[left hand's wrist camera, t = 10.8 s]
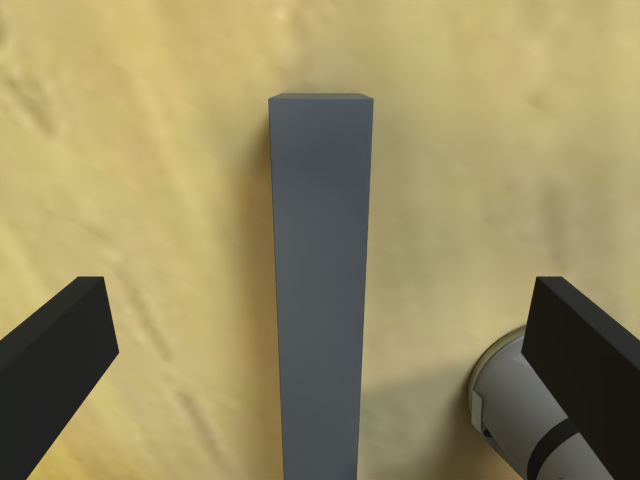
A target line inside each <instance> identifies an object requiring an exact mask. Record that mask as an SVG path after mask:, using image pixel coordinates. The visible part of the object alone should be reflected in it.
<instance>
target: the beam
mask: <svg viewBox="0 0 640 480" xmlns="http://www.w3.org/2000/svg"><path fill="white" fill-rule="evenodd" d="M268 101H269V125H270V150H271V174H272V199H273V223H274V248H275V272H276V297H277V321H278V346H279V370H280V395H281V419H282V444H283V469H284V480H357V459H358V437H359V415H360V392H361V370H362V347H363V325H364V303H365V280H366V258H367V235H368V213H369V191H370V168H371V146H372V124H373V101H374V99H373V98H370V97H368V96H365V95H362V94H279V95H277V96H274V97H271V98H269V99H268Z"/></svg>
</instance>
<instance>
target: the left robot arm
mask: <svg viewBox="0 0 640 480" xmlns="http://www.w3.org/2000/svg"><path fill="white" fill-rule="evenodd" d="M118 354H119V349H118V345H117V340H116V335H115V330H114V325H113V320H112V315H111V311H110V306H109V301H108V296H107V291H106V286H105V281H104V277H77V278H76V279H75V280H73V281H72V282H71V283H70V284H69V285H67V286H66V287H65V288H64V289H62V290H61V291H60V292H59V293H58V294H56V295H55V296H54V297H53V298H52V299H50V300H49V301H48V302H47V303H45V304H44V305H43V306H42V307H41V308H39V309H38V310H37V311H36V312H34V313H33V314H32V315H31V316H30V317H28V318H27V319H26V320H25V321H23V322H22V323H21V324H20V325H19V326H17V327H16V328H15V329H14V330H12V331H11V332H10V333H9V334H8V335H6V336H5V337H4V338H3V339H2V340H0V480H26V479H27V478H28V476H29V475H30V474H31V472H32V471H33V470H34V468H35V467H36V466H37V464H38V463H39V461H40V460H41V459H42V457H43V456H44V455H45V453H46V452H47V451H48V449H49V448H50V446H51V445H52V444H53V442H54V441H55V440H56V438H57V437H58V436H59V434H60V433H61V431H62V430H63V429H64V427H65V426H66V425H67V423H68V422H69V421H70V419H71V418H72V416H73V415H74V414H75V412H76V411H77V410H78V408H79V407H80V405H81V404H82V403H83V401H84V400H85V399H86V397H87V396H88V395H89V393H90V392H91V390H92V389H93V388H94V386H95V385H96V384H97V382H98V381H99V380H100V378H101V377H102V375H103V374H104V373H105V371H106V370H107V369H108V367H109V366H110V365H111V363H112V362H113V360H114V359H115V358H116V356H117V355H118ZM467 400H468V406H469V410H470V413H471V415H472V422H471V424H472V425H473V426H474V427H475V428H476V429H477V430H478V431H479V433H481V434H482V436H483V437H484V439H485V440H486V441H487V442H488V444H489V445H490V446H491V447H492V448H493V449H494V450H495V451H496V452H497V453H498V454H499V455H500V456H501V457H502V458H503V459H504V460H505V461H506V462H507V463H508V464H509V465H510V466H511V467H512V468H513V469H514V470H515V471H516V472H517V473H518V474H519V475H520V476H521V477H522V478H523V479H524V480H640V340H638V339H637V338H636V337H635V336H634V335H632V334H631V333H630V332H629V331H628V330H626V329H625V328H624V327H623V326H621V325H620V324H619V323H618V322H617V321H615V320H614V319H613V318H612V317H610V316H609V315H608V314H607V313H606V312H604V311H603V310H602V309H601V308H599V307H598V306H597V305H596V304H595V303H593V302H592V301H591V300H590V299H588V298H587V297H586V296H585V295H584V294H582V293H581V292H580V291H579V290H578V289H576V288H575V287H574V286H573V285H571V284H570V283H569V282H568V281H567V280H565V279H564V278H563V277H536V281H535V286H534V291H533V296H532V301H531V306H530V311H529V315H528V320H527V325H526V326H524V327H522V328H520V329H517V330H515V331H513V332H512V333H510V334H508V335H506V336H505V337H503V338H502V339H500V340H499V341H498V342H497V343H495V344H494V345H493V346H492V347H491V348H490V349H489V350H488V351H487V352H486V353H485V354H484V355H483V356H482V358H481V359H480V360H479V362H478V363H477V365H476V367H475V368H474V371H473V373H472V375H471V378H470V381H469V385H468V391H467Z"/></svg>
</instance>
